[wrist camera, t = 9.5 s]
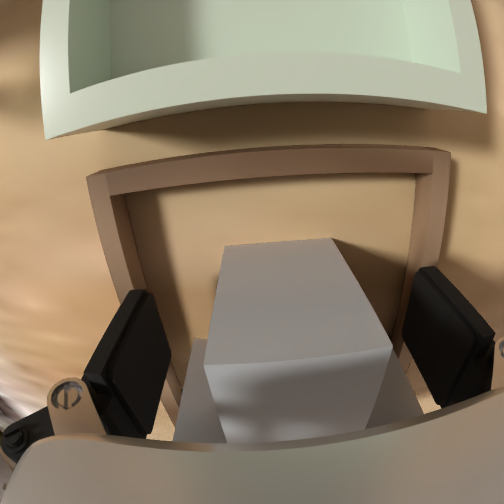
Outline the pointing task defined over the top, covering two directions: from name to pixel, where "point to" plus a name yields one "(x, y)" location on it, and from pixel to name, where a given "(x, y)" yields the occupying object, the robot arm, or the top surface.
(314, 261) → the stone
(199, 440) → the stone
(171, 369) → the tray
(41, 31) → the bin
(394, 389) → the stone
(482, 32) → the top surface
